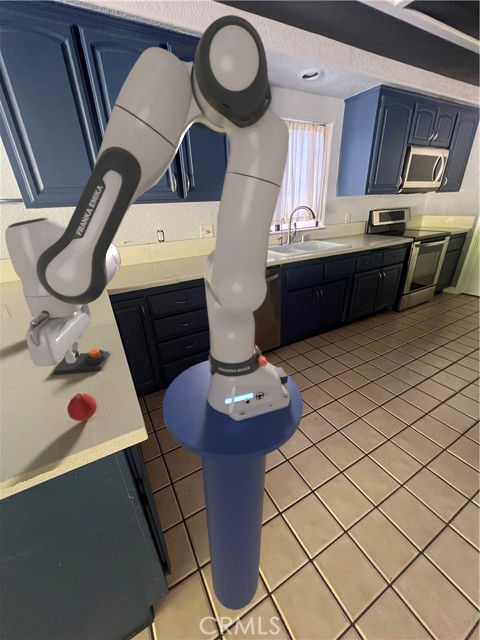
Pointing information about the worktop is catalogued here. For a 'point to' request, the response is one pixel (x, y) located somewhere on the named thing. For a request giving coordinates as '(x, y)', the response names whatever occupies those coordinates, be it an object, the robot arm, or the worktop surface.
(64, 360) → the scale
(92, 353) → the tare button
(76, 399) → the onion
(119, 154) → the robot arm
